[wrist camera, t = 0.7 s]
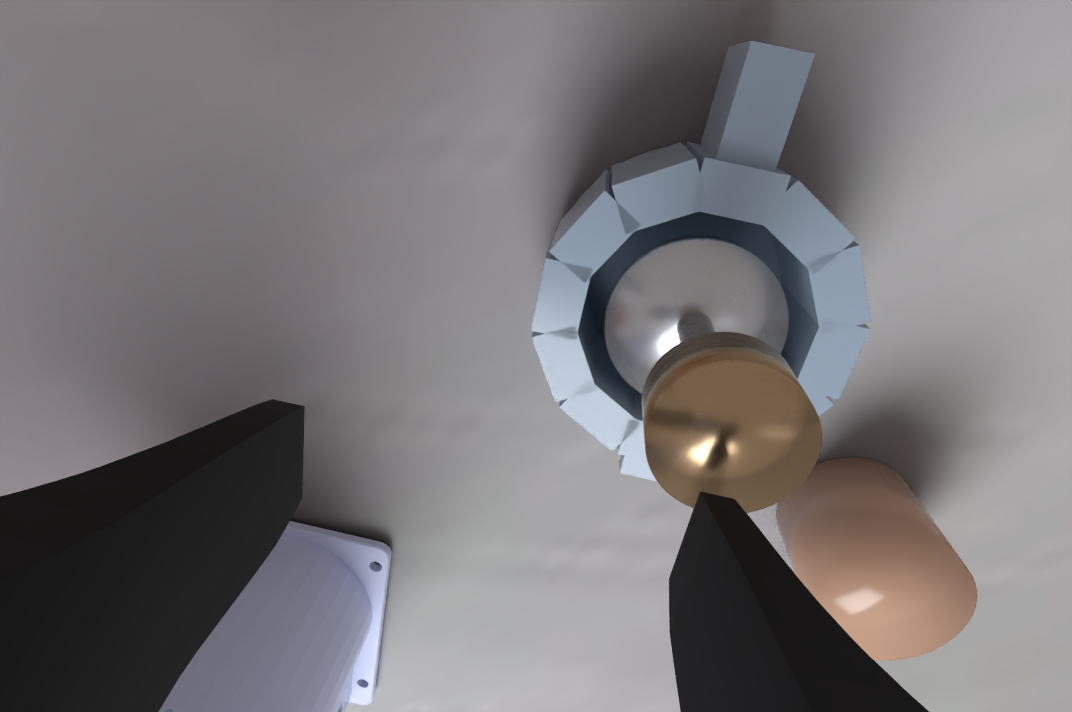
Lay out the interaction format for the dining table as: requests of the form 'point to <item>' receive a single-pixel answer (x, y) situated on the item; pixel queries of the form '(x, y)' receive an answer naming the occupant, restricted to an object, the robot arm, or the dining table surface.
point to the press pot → (715, 210)
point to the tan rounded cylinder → (876, 559)
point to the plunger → (712, 372)
